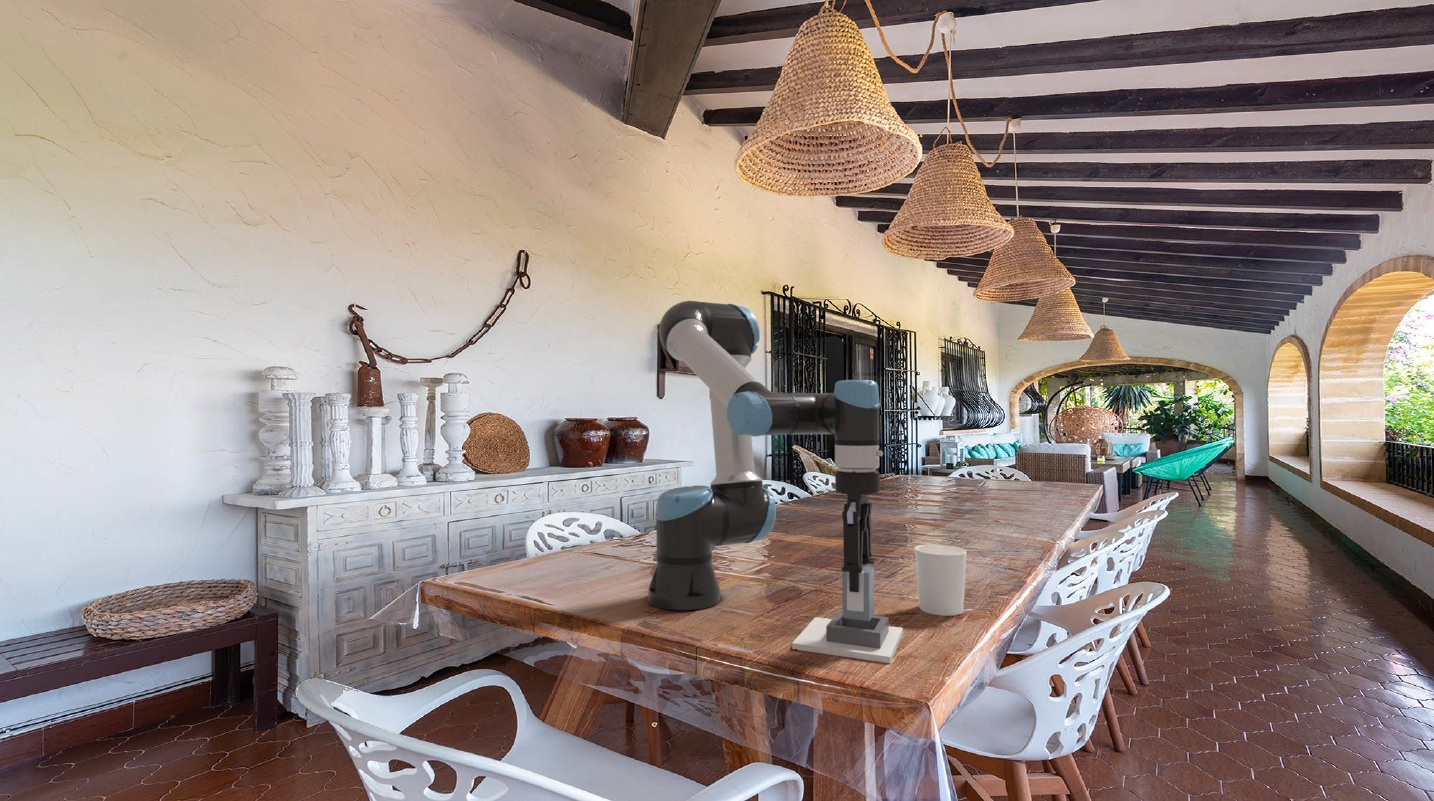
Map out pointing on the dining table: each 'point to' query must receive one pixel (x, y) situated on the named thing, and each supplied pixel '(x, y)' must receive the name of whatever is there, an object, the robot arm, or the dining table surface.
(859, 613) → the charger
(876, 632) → the charging dock
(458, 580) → the dining table surface
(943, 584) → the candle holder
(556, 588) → the dining table surface
